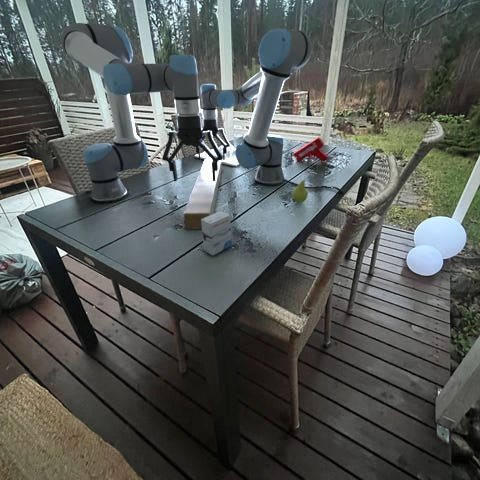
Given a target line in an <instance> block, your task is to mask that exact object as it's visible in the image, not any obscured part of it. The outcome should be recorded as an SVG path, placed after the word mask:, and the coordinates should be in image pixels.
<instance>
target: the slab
mask: <svg viewBox="0 0 480 480" xmlns="http://www.w3.org/2000/svg"><path fill="white" fill-rule="evenodd" d="M222 169H223V168H222V163H221V160H220V161H218V171H215V177H216V179H215V181H213V177H212V159H204V161H203V164H202V166H201V169H200V171H199V173H198V176H197V179H196V181H195V184H194V186H193V189H192V192H191V193H190V197H189V199H188V202H187V204H186V207H185V209H184V212H183V217H184V224H185V225H184V226H185V230H202V225H201V219H203V218H205V217H208V216H210V215H213V214H215V208H216V207H215V206H216V202H217V197H218V191H219V187H220V181H221V175H222Z"/></svg>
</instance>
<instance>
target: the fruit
mask: <svg viewBox="0 0 480 480" xmlns="http://www.w3.org/2000/svg"><path fill="white" fill-rule="evenodd" d="M310 177H311V175H310V174H309V175H308V176H307V177H305V179H302V180H301V181H300V182H298V183H297V184H298V186H295V187H294V188H293V190H292V191H291V198H292V200H293V201H294V202H295V203H297V204H301V203H304V202H305V201H306V200H307V198H308V196H309V195H308V189H306V188H305V186H306V184H305V183H306V180H308V179H309V178H310Z"/></svg>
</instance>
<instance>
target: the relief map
mask: <svg viewBox="0 0 480 480" xmlns="http://www.w3.org/2000/svg"><path fill="white" fill-rule="evenodd" d="M229 144H230V146H229V147H227V153H226V154H225V160H223V159H222V160H221V165H222V164H223V165H226V166H227V165H228V166H232V167H238V166H241V165H240V164H239V163H238V161H237V159H236V155H235V150H236V147H234V145H233V144H232V143H229ZM223 147H224V146H223V145H220V146H218V148H219V150H220V152H221V154H222V156H223ZM210 150H211V151H212V152H213V153H214V154H215V155H216V153H215V151H214V149H213V148H212V149H210ZM200 155H201V159H202V160H205V159H211V158H210V157H209V156H208V154H207V153H206V152H205V151H204V150H203V151H202V152H200ZM216 157H217V155H216ZM194 158H197V159H199V156H198V153H196V154H195V155H194ZM201 159H200V160H201Z"/></svg>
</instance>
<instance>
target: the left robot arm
mask: <svg viewBox="0 0 480 480" xmlns="http://www.w3.org/2000/svg"><path fill="white" fill-rule="evenodd" d="M60 46H61V48H62V50H63V52H64V54H65V55H66V57H68V59H70V60H71V61H73V62H74V63H75V64H77V65H79V66H85V67H87V69H89V70H91V71H92V72H94V74H97V75H98V76H99V77H101V78H102V79H103V82H104V86H105V91H106V95H107V101H108V105H109V109H110V114H111V115H110V116H111V119H112V123H113V128H114V134H115V136H114V137H113V139H112V140H113V141H112V142H113V145H112V144H110V143H109V142H101V143H100V142H99V143H94V144H91V145H89V146H87V147H86V148H84V149H83V151H82V154H83V159H84V163H85V166H86V169H87V172H88V175H89V179H90V181H91V190H85V193H86V194H89V193H90V194H91V199H92V201H93V202H95V203H98V204H109V203H114V202H118V201H121V200H123V199H125V198H126V197H127V196H128V191H127V188H126V187H125V186H124V184H123V182H122V181H121V180H120V175H119V173H120V172H124V171H129V170H132V169H139V168H141V167H144V166H145V165H146V164H147V163H148V160H149V151H148V148H147V145H146V143H145V142H144V141H143V140H142V139H141V137H140V136H138V135H137V131H136V125H135V119H134V113H133V108H132V101H131V96H130V95H137V94H138V95H139V94H151V93H164V92H166V93H167V92H171V93H173V99H174V108H175V109H174V110H175V114H176V115H177V116H176V123H177V124H176V125H177V131H174V130H173V129H171V130H169V131H168V134H167V135H168V138H167V139H168V140H167V141H166V146H165V148H164V151H163V154H162V157H161V160H162V161H164V162H167V163H168V170H169V171H170V172H172V176H173V177H172V178H173V182H177V181H178V171H177V163H176V160H174V159H175V157H176V156H177V154H178V153H179V151H180V150H181V149H182V148H183V146H186V147H191V146H192V147H194V146H196V145H199V146H198V147H200V149H202V150H203V152H204V151H205V152H206V153H207V154H208V156H209V157H210V158H211V159H212V177H213V181H215V179H216V177H215V171H218V161H220V160H222V159H223V156H222V154H221V152H220V150H219V148H218V147H219V146H218V144H217V142H216V141H215V138H214V137H213V136H212V131H211V130H209V131H206V132H203V131H202V129H203V125H202V115H200V113H201V103H200V101H201V99H200V91H199V90H200V89H199V77H198V74H199V71H198V67H197V59H196V57H195V55H193V54H171V55H170V56H169V63H163V62H162V63H161V62H159V63H132V61H133V56H134V54H133V48H132V44H131V41H130V39H129V37H128V35H127V34H126V32H125V31H124V30H123V28H121V27H119V26H115V25H110V24H98V23H84V22H74V23H71V24H68V25H67V26H66V27H65V28H64V29H63V31H62V32H61V35H60ZM203 136H205V139H208V142H209V144H210V145H211V147H212V149H214V151H215V153H216V155H217V157H216V155H215V154H214V153H213V152H212V151H211V150H212V149H210V147H209V146H208V145H207V144H206V142H205V141H204V140H202V137H203ZM176 137H177V138H178V139H179V140H180V142H179V143H178V144H177V146H176V147H175V149H174V150H173V151H172V153H171V155H170V156H169V154H170V151H171V148H172V145H173V142H174V139H176Z"/></svg>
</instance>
